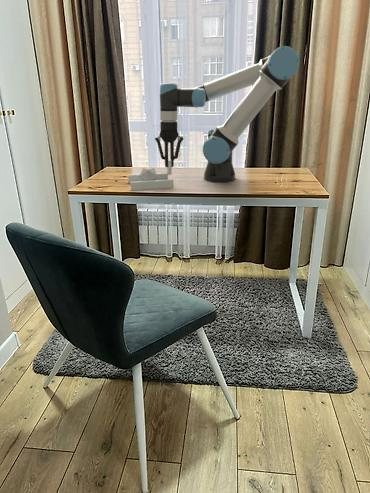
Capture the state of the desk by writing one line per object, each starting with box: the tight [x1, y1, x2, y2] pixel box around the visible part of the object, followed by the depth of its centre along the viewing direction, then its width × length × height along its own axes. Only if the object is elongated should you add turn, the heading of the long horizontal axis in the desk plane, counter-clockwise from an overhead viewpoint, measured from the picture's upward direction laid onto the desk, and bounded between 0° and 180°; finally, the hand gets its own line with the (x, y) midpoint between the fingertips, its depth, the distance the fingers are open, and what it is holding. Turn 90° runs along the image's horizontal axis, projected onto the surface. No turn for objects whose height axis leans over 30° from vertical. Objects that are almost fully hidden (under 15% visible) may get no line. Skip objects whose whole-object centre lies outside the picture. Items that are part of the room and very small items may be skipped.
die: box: [139, 167, 158, 181], centre depth 183 cm, size 8×9×10 cm
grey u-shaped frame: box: [127, 172, 175, 191], centre depth 184 cm, size 19×15×4 cm
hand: (169, 174), depth 185 cm, fingers closed
